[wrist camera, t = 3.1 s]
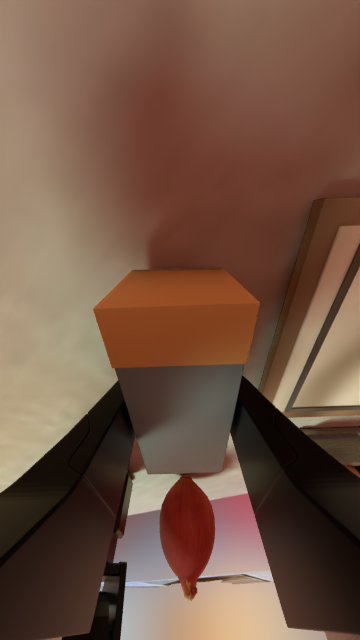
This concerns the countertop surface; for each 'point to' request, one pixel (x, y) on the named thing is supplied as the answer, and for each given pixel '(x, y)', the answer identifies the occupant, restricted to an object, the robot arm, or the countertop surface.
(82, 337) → the countertop surface
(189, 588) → the onion
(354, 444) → the button collar
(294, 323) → the picture frame
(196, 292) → the grey orange block
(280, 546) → the robot arm
